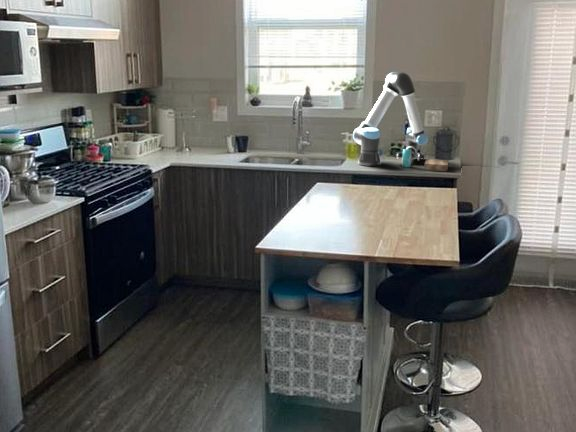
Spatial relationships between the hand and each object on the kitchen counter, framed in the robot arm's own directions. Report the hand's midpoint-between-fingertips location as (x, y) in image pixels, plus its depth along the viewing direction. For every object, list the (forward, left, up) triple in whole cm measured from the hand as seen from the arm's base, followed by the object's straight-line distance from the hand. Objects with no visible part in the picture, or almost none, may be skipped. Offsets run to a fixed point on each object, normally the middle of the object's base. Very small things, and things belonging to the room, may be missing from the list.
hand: (407, 157), depth 408 cm
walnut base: (+18, 0, -6) cm, 19 cm away
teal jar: (-1, 0, -6) cm, 6 cm away
